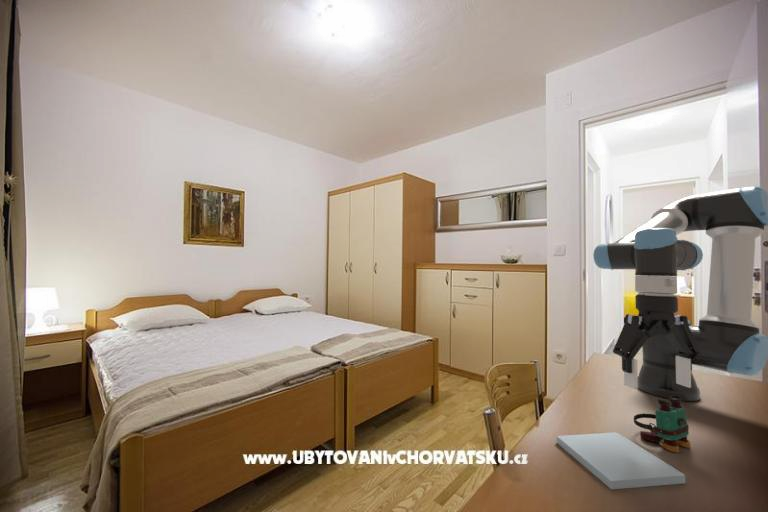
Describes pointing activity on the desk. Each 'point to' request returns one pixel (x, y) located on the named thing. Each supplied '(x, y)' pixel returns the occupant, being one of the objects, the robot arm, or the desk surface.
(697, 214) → the robot arm
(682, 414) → the binoculars
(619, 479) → the board
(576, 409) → the desk surface
